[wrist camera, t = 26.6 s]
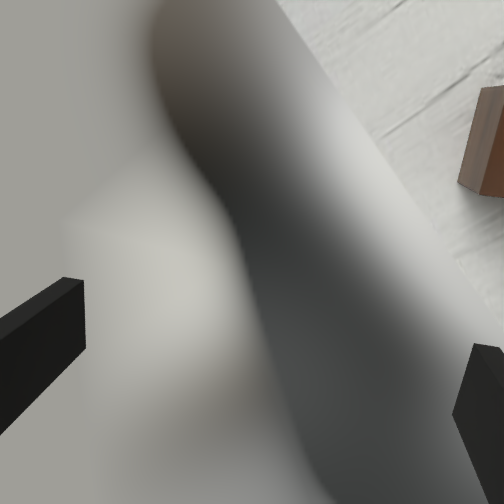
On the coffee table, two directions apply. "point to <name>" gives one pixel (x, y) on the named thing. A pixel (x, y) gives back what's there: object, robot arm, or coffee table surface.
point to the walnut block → (486, 146)
